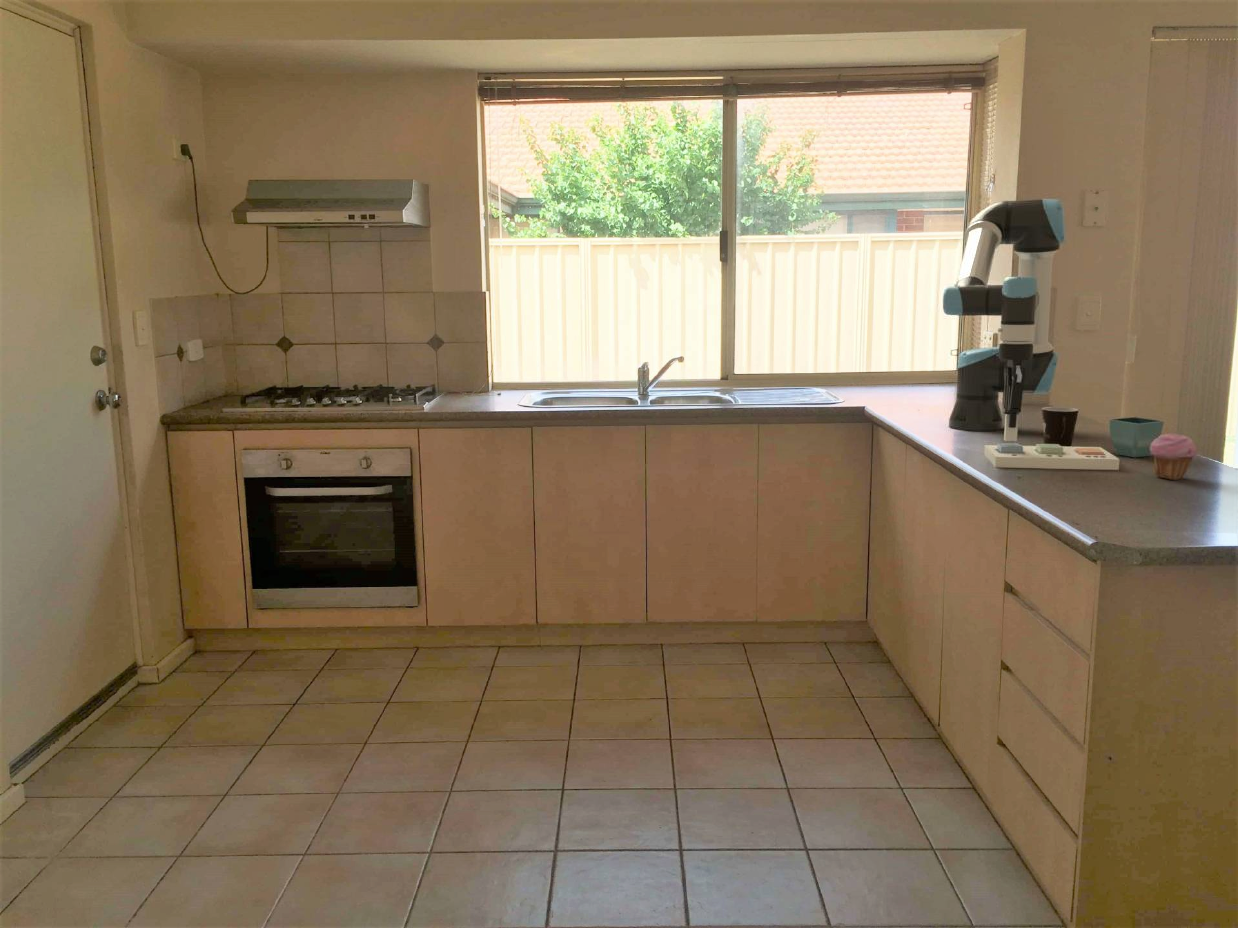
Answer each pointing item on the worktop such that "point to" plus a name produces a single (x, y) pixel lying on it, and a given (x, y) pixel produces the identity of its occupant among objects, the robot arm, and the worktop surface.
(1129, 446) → the flower pot
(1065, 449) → the panel
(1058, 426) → the coffee mug
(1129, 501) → the worktop surface
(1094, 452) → the button
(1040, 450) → the button
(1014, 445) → the button
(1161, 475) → the cupcake
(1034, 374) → the robot arm
